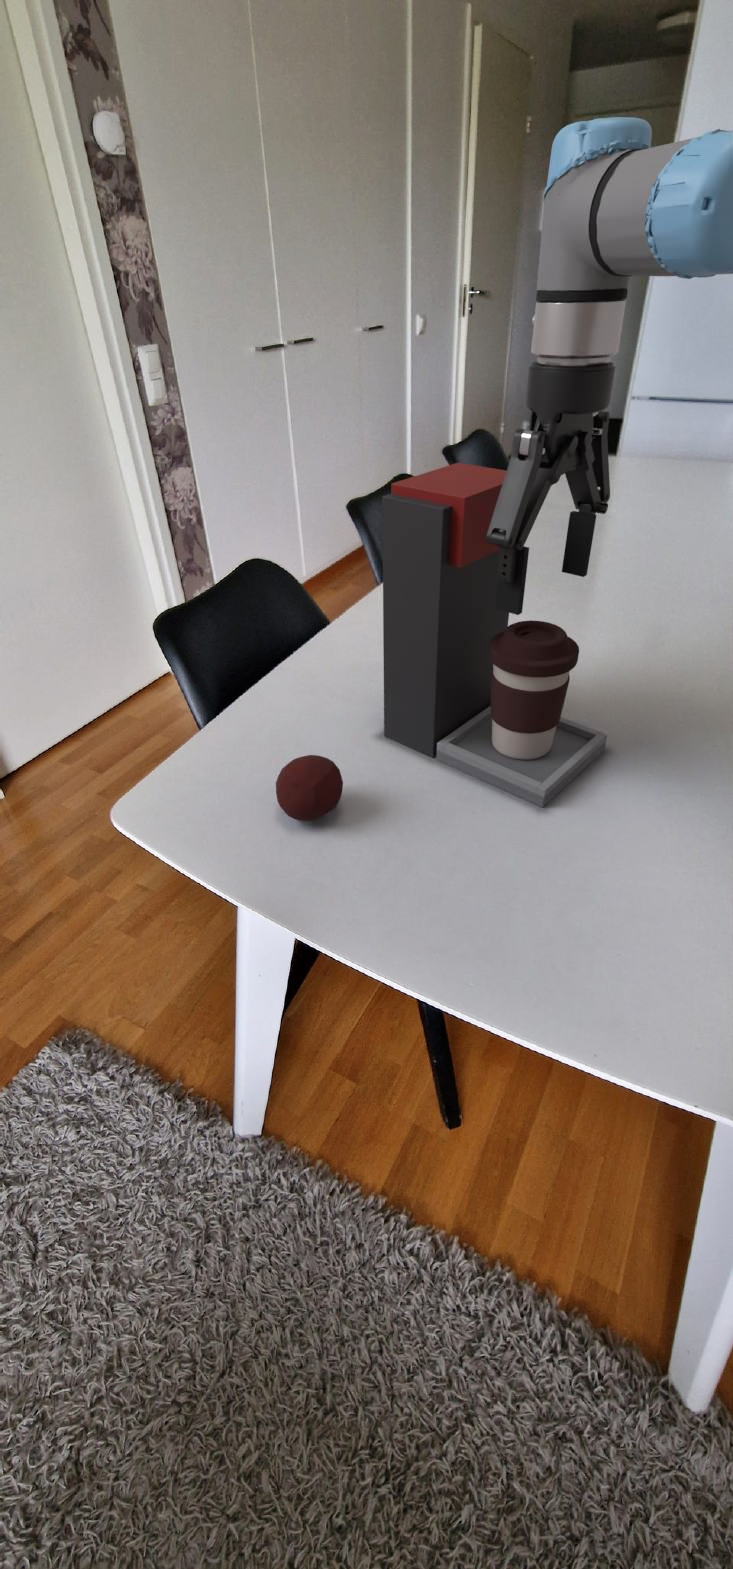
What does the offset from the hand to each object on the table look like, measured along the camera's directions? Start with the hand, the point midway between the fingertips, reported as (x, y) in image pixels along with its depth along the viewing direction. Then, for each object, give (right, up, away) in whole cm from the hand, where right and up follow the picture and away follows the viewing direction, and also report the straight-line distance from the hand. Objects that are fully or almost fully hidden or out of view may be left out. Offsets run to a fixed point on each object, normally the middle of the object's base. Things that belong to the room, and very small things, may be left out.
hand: (542, 591), depth 75 cm
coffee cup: (0, -16, +12) cm, 20 cm away
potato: (-25, -24, +5) cm, 35 cm away
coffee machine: (-3, -15, +15) cm, 22 cm away
